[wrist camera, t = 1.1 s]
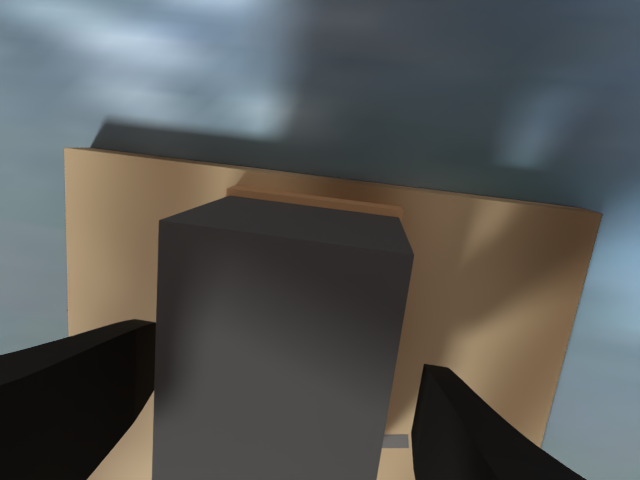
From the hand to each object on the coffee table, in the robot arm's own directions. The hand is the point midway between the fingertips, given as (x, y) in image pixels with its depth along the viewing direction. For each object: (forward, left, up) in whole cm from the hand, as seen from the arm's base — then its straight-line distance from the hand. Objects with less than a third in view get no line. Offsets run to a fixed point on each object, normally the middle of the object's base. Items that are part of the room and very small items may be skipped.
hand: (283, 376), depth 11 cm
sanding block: (0, 0, -3) cm, 3 cm away
